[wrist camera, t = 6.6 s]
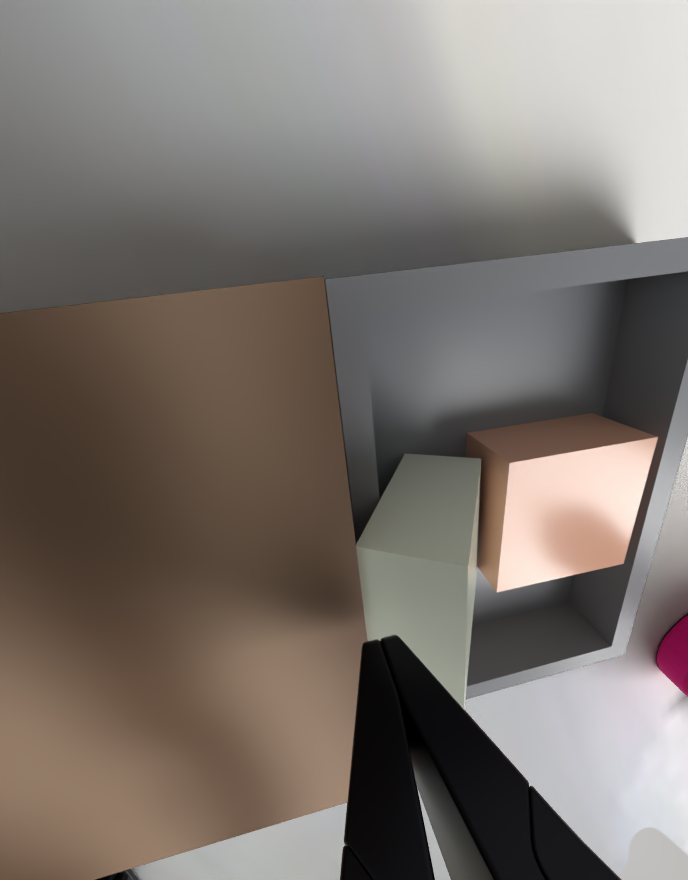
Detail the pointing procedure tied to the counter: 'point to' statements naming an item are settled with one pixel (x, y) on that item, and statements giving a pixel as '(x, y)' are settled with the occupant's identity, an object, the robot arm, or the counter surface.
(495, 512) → the tile terracotta
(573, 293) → the box
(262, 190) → the counter surface
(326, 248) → the counter surface
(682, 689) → the pepper mill
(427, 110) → the counter surface
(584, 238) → the counter surface
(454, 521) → the tile sage
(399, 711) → the robot arm
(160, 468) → the brown wooden block
